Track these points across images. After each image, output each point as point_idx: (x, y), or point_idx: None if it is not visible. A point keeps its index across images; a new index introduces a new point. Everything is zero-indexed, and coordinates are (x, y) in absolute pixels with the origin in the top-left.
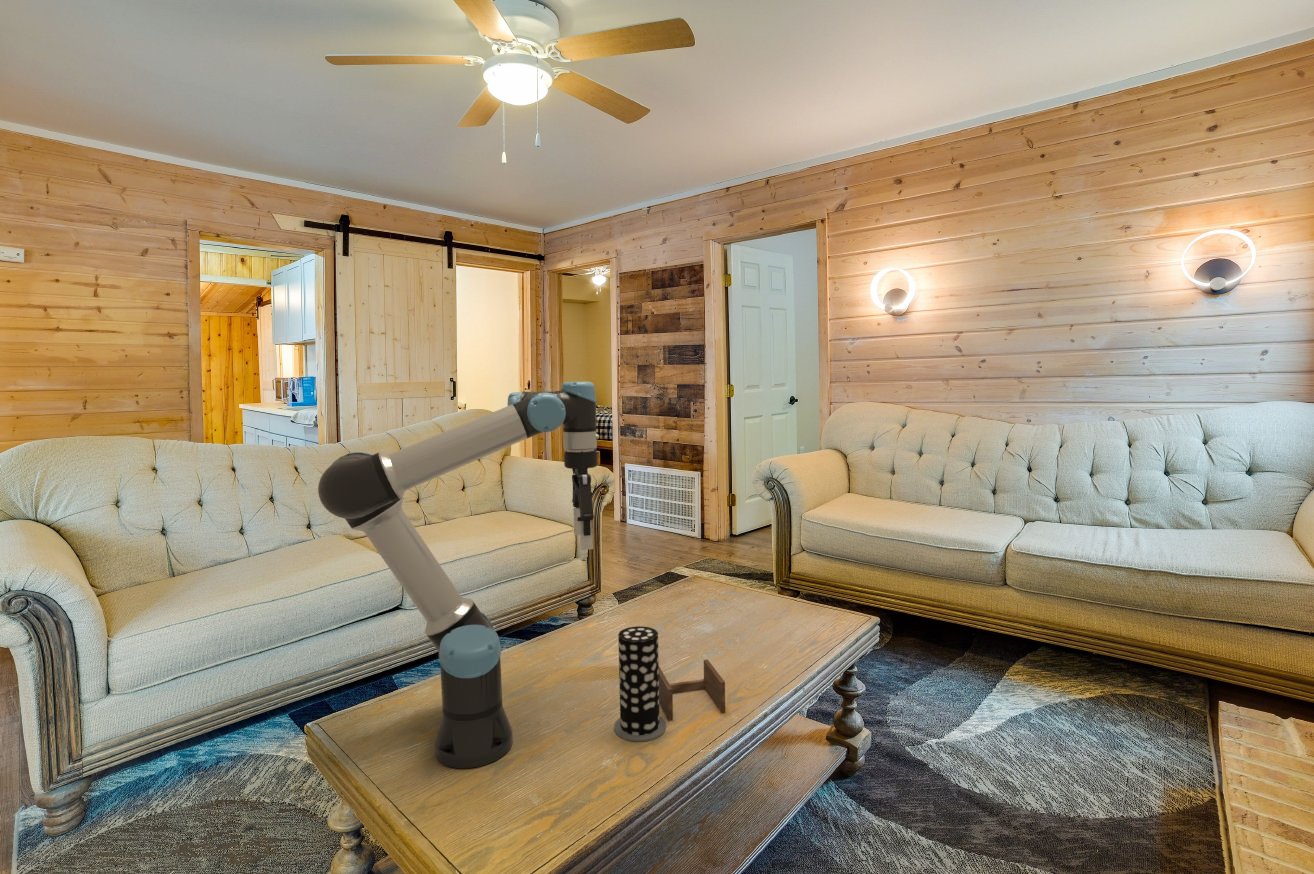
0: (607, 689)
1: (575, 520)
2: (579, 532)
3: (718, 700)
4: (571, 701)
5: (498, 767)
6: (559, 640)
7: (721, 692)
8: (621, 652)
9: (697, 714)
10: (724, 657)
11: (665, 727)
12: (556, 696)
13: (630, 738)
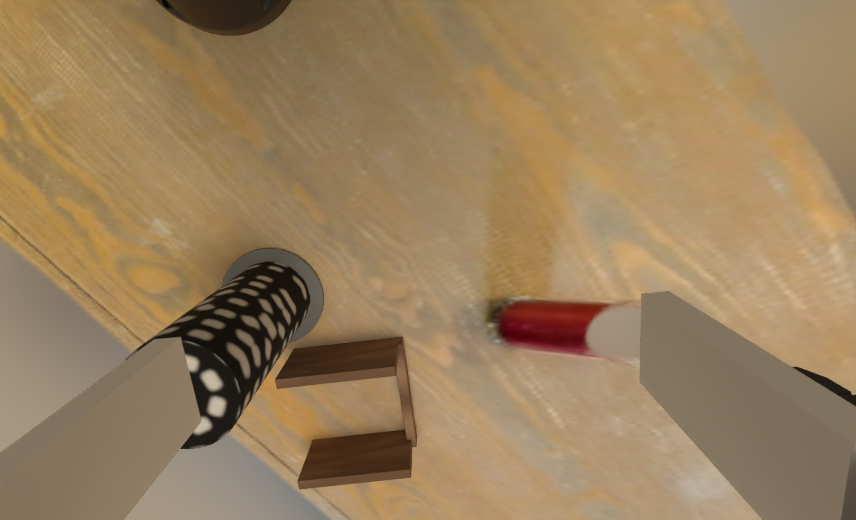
0: (438, 243)
1: (723, 366)
2: (649, 343)
3: (321, 449)
4: (395, 162)
5: (145, 13)
6: (746, 129)
7: (303, 467)
8: (167, 327)
9: (312, 401)
10: (538, 489)
11: None
12: (424, 127)
13: (225, 276)
